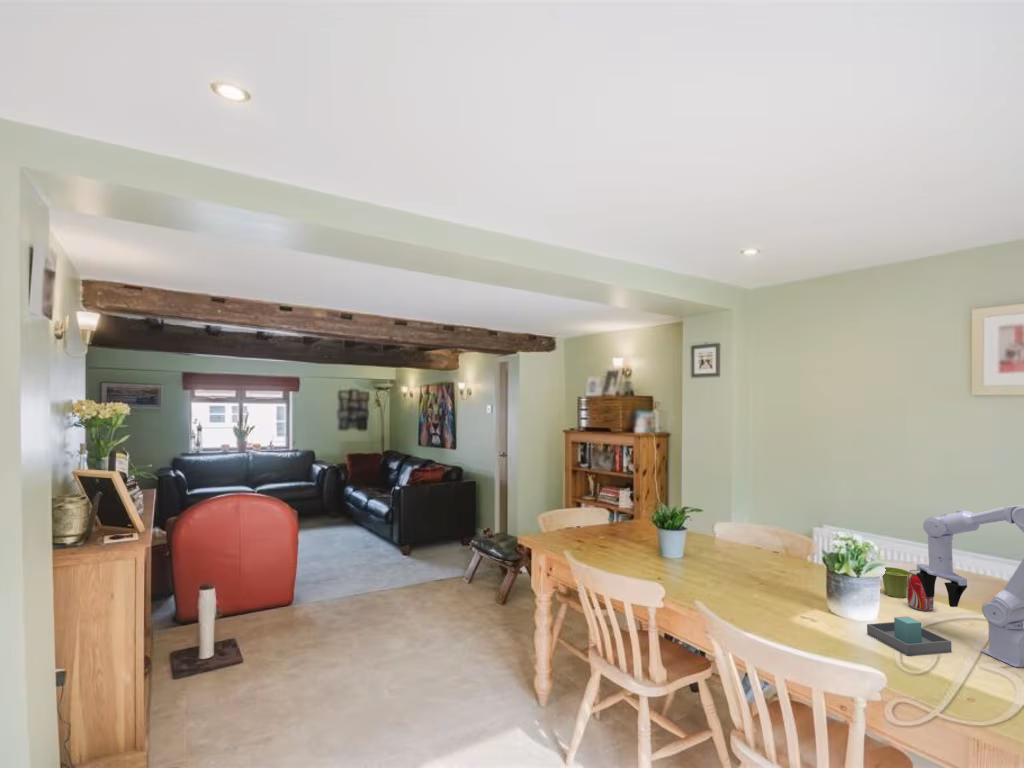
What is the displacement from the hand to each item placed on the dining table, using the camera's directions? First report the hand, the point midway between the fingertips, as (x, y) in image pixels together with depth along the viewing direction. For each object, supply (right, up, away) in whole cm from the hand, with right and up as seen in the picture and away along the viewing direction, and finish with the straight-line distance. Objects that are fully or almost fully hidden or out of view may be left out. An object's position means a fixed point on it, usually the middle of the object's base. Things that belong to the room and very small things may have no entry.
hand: (941, 601), depth 164 cm
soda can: (+8, -10, +19) cm, 23 cm away
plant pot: (+8, -11, +31) cm, 34 cm away
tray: (-15, -9, -7) cm, 19 cm away
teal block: (-15, -9, -7) cm, 19 cm away
